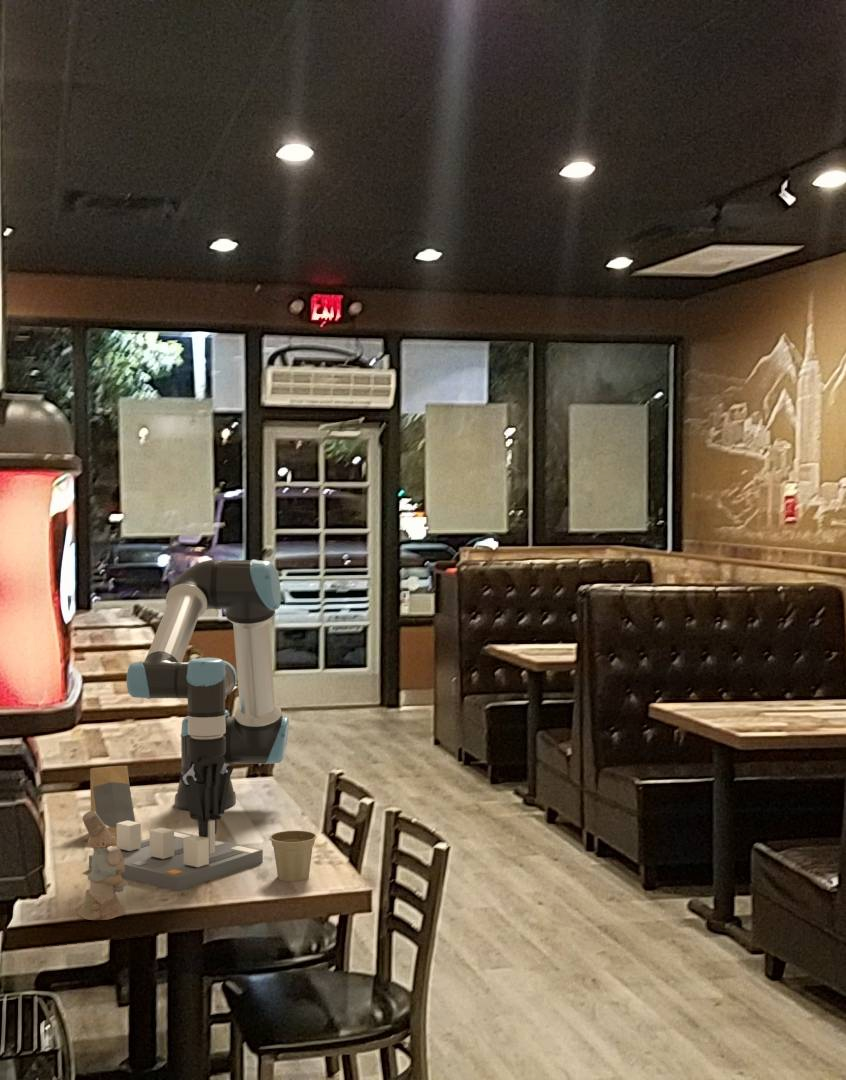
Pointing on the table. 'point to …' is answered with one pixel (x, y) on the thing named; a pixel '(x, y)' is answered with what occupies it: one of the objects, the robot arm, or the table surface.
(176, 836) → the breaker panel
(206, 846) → the white upright block
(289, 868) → the flower pot
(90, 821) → the figurine
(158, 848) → the middle handle
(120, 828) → the side handle
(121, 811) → the sandwich container
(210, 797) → the robot arm
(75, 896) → the table surface
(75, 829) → the table surface
